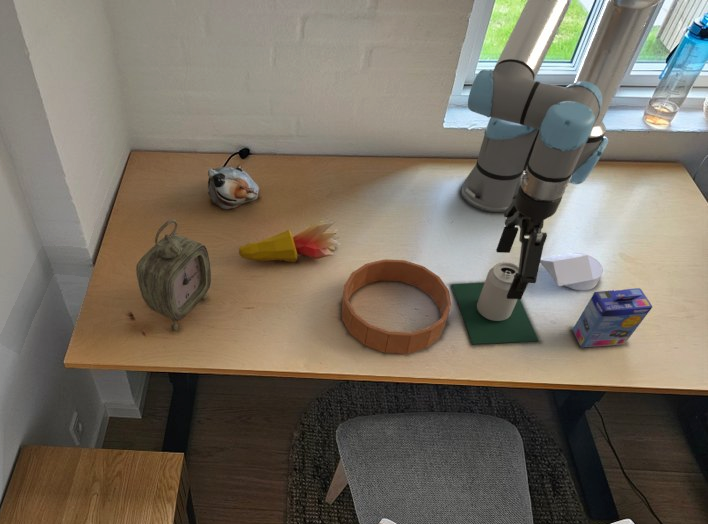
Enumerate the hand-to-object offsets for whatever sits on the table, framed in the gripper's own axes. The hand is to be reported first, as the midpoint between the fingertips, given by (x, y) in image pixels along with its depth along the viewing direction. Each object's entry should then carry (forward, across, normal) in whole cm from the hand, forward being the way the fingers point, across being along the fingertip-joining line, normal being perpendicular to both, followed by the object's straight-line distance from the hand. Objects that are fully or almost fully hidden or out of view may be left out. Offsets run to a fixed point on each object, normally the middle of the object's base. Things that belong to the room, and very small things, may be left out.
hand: (508, 273), depth 125 cm
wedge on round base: (+12, -12, +19) cm, 25 cm away
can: (+11, 0, 0) cm, 11 cm away
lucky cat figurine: (+12, -36, -62) cm, 73 cm away
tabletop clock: (+11, +4, -70) cm, 71 cm away
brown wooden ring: (+11, +2, -22) cm, 25 cm away
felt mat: (+11, 0, 0) cm, 11 cm away
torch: (+12, -16, -46) cm, 50 cm away
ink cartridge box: (+12, +6, +21) cm, 25 cm away
